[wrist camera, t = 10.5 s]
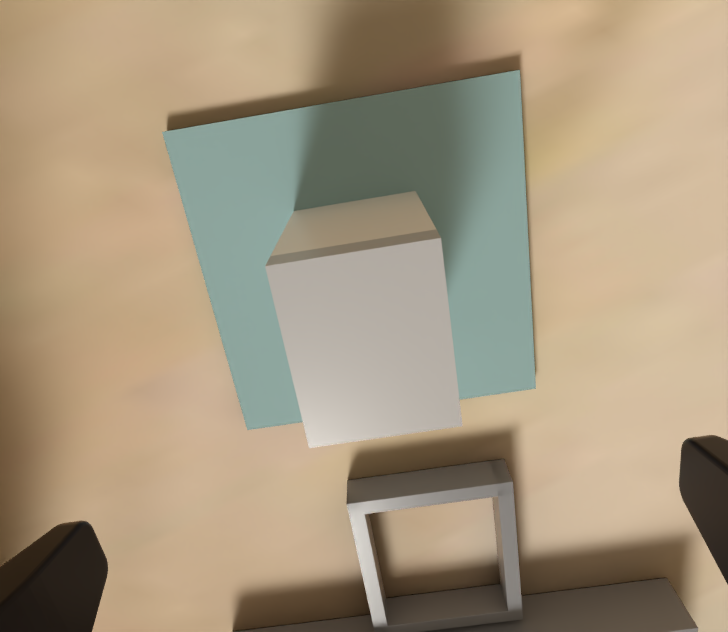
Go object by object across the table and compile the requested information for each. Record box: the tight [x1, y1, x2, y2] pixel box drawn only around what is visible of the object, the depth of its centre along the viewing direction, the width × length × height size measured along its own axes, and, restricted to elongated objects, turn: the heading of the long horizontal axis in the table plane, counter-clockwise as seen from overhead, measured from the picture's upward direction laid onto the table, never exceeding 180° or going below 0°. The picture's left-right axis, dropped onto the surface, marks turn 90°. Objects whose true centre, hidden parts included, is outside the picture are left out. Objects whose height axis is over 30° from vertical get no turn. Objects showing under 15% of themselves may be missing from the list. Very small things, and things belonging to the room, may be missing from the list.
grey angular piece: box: [236, 459, 698, 632], centre depth 24 cm, size 20×14×3 cm
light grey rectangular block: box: [265, 191, 462, 448], centre depth 16 cm, size 4×5×6 cm
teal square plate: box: [162, 70, 536, 430], centre depth 19 cm, size 11×11×1 cm
